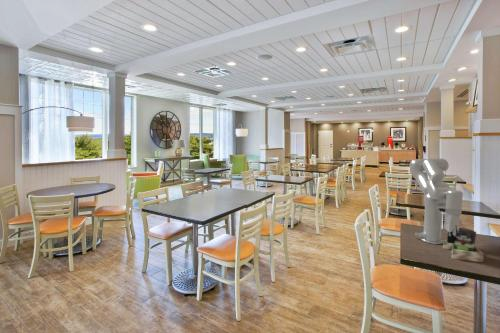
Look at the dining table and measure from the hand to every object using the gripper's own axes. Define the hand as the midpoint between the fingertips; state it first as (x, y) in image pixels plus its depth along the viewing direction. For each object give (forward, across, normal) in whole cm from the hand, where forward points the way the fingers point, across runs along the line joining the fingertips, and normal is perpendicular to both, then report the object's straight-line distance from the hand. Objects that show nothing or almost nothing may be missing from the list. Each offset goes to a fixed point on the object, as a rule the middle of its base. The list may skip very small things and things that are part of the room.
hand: (450, 242), depth 160 cm
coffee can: (+7, -1, +6) cm, 9 cm away
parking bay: (+6, 0, +5) cm, 8 cm away
